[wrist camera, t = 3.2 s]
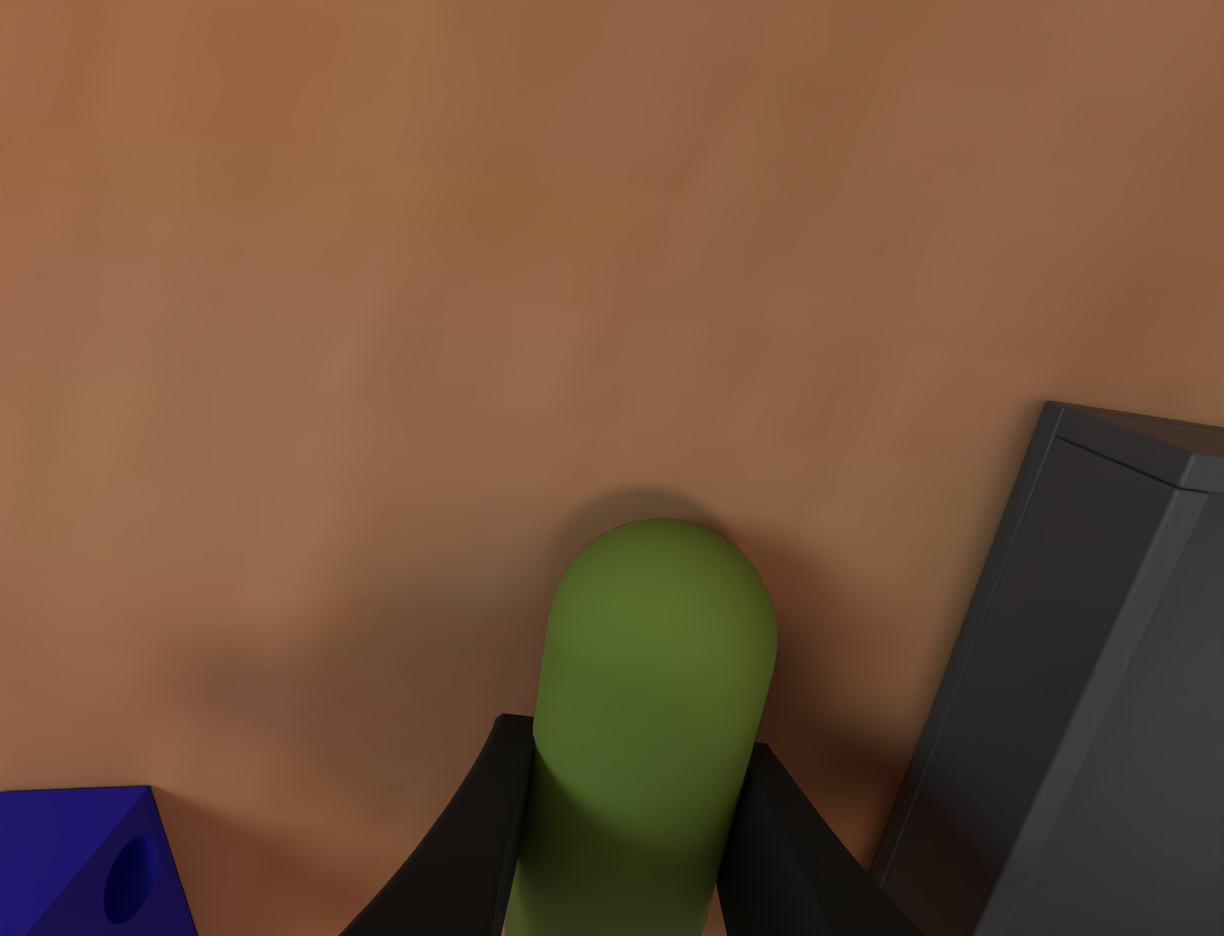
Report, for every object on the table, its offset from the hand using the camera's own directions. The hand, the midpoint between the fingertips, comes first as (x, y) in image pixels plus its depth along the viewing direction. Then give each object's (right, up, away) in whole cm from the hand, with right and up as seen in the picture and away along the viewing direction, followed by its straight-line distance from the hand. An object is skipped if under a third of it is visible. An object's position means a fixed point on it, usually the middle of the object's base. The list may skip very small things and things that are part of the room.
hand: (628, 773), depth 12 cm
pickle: (0, 0, +1) cm, 1 cm away
